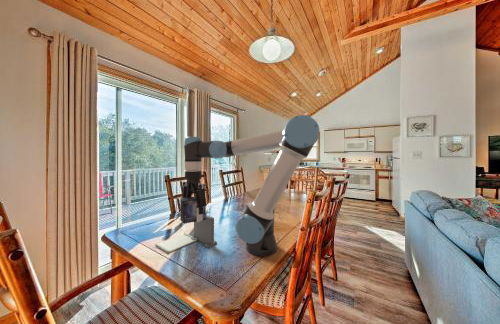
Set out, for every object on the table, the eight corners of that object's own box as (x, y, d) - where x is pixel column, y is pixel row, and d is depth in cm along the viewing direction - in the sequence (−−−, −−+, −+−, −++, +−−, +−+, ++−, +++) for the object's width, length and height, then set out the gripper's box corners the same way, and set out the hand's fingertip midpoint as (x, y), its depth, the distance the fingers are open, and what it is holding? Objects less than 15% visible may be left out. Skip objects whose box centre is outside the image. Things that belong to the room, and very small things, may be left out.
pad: (197, 240, 102) (197, 238, 102) (167, 253, 89) (167, 251, 89) (184, 234, 109) (184, 233, 109) (155, 245, 96) (155, 243, 96)
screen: (217, 243, 99) (217, 216, 98) (208, 248, 95) (208, 219, 94) (199, 235, 108) (199, 210, 107) (190, 239, 103) (190, 213, 102)
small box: (183, 224, 86) (182, 200, 86) (180, 220, 91) (179, 198, 91) (206, 219, 91) (206, 197, 91) (202, 216, 97) (201, 195, 97)
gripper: (214, 171, 87) (214, 221, 88) (186, 168, 100) (187, 212, 101) (201, 172, 81) (201, 226, 82) (173, 169, 94) (174, 216, 95)
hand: (193, 218), depth 92 cm, fingers closed on small box, 8 cm apart
